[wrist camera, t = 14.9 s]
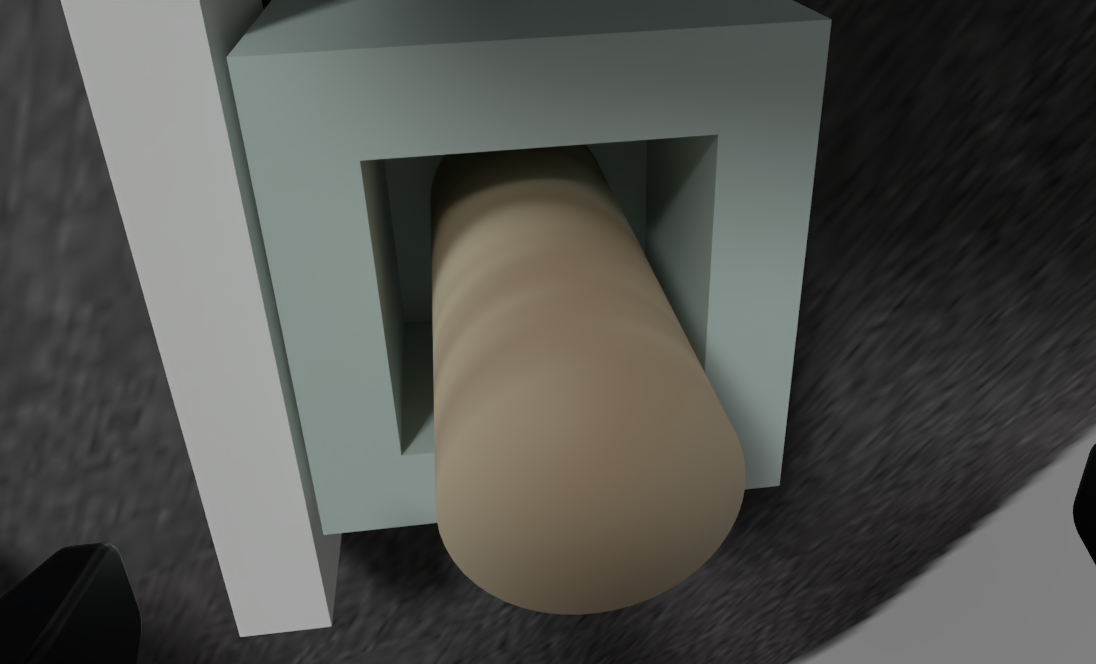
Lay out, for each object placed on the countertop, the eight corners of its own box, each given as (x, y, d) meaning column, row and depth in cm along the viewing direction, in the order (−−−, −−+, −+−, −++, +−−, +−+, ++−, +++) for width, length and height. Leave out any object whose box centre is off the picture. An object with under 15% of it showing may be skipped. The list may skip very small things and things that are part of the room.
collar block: (344, 375, 18) (322, 535, 14) (279, -10, 14) (226, 56, 10) (702, 342, 18) (780, 486, 14) (723, -35, 15) (832, 18, 11)
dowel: (439, 288, 16) (451, 630, 9) (421, 122, 15) (418, 382, 8) (606, 273, 17) (736, 597, 10) (604, 109, 15) (756, 351, 8)
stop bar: (273, 485, 19) (240, 637, 15) (116, -192, 13) (5, -194, 9) (347, 477, 19) (331, 626, 15) (226, -197, 13) (157, -199, 10)
